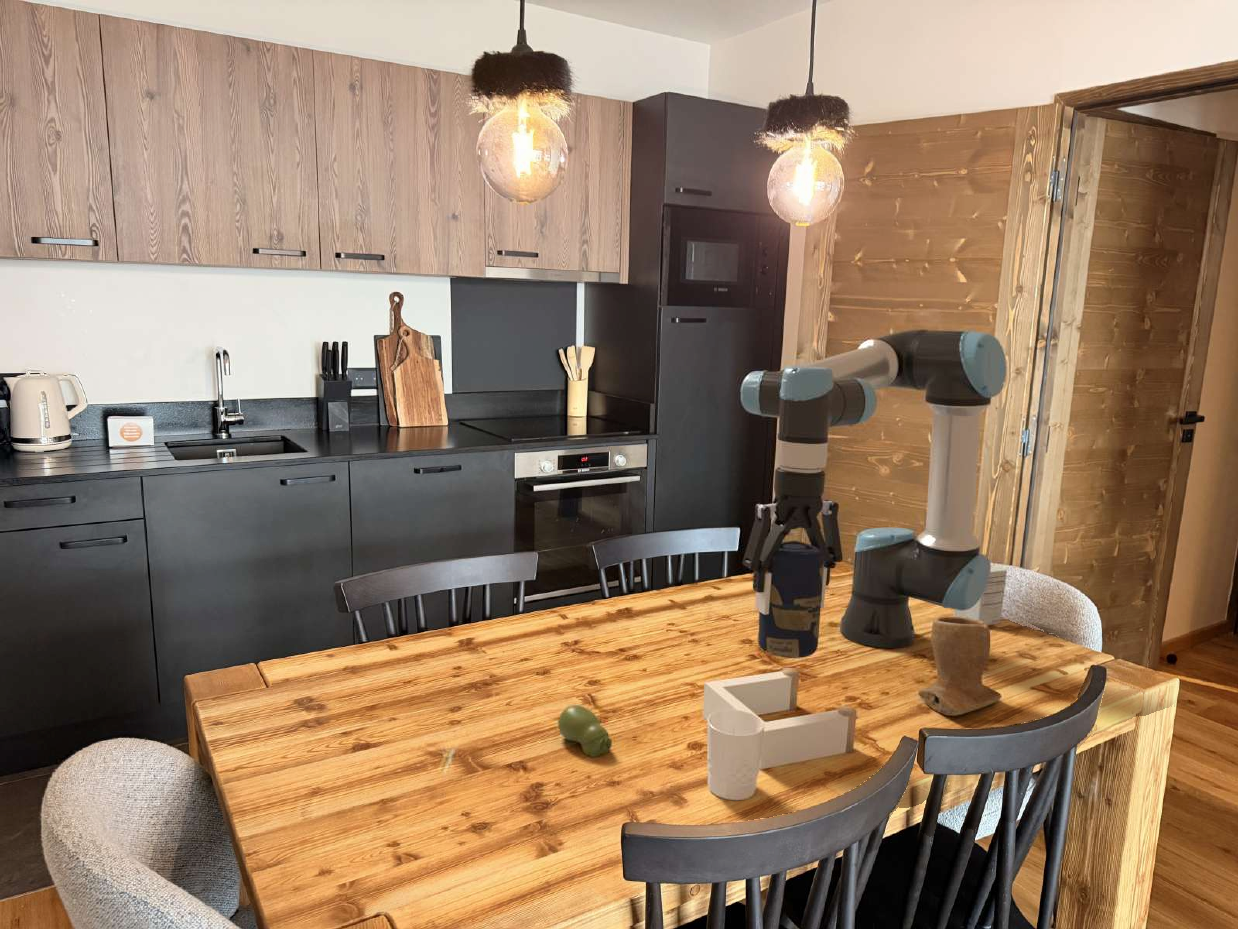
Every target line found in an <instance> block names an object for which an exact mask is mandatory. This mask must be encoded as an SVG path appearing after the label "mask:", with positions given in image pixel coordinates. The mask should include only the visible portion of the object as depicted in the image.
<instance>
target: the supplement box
mask: <svg viewBox="0 0 1238 929" xmlns="http://www.w3.org/2000/svg"><path fill="white" fill-rule="evenodd" d="M990 565H991V564H990ZM1007 573H1008V569H1007V570H1006V569H1003V568H1001V567H997V566H994V565H991V569H990V576H989V580H988V583H987V586H986V588H985V590H984V592H983V594H982V596H981V598H980V599H979V601H978V602H977V603H976V604H975V605H974V606H973V607H972V608H970V609H968V610H965V611H960V610H956V609H953V617H963V618H970V619H974V620H980V621H983V622H985V623H986V624H987V625H988V626H992V625H997V624H1000V623H1001V621H1002V620H1001V619H1002V612H1003V604H1004V597H1005V588H1006V580H1007Z"/></svg>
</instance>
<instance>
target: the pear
mask: <svg viewBox="0 0 1238 929" xmlns="http://www.w3.org/2000/svg"><path fill="white" fill-rule="evenodd" d="M557 723H558V730H559V732H560V734H561V736H563V738H564V739H566V740H568V741H571V742H575V743H576V742H577V743H578V744H580V745H581V748H582V751H583V753H584V754H585V755H587V756H589V757H591V758H594V757H597V756H599V757H600V756H601V755H605V754H606V753H609V752H610V749H611V747H612V742H613V741H612V738H610V737H609V732H608V730H607V729H606V728H605V727H604V726H602V725H601V723H600V720H599V718H598V717H597V716H596V715H595V714H594V713H593V711H591V710H590V709H588V708H586V707H585V706H582V705H578V704H577V705H575V704H574V705H573V704H572V705H570V706H567V707H566V708H565V709H563V711H562V712H561V713H560V715H559V717H558V721H557Z"/></svg>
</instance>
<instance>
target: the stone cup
mask: <svg viewBox="0 0 1238 929" xmlns="http://www.w3.org/2000/svg"><path fill="white" fill-rule="evenodd" d="M930 642H931V646H932V647H931V648H932V652H933V656H934V659H935V660H934V662H935V667H936V673H937V675H936V681H935V682H934V683H933V684H930V685H929V686H927V687H925V688H923V689H920V690H918V692H917V694H918V695H919V697H920V698H921V699H922V700H923V702H924V703H925V704H926V705H928V706H929V707H930V708H931V709H932V710H934V711H935V712H937V713H939V714H942V715H945V716H953V717H955V716H960V715H964V714H967V713H970V712H973V711H976V710H979V709H982V708H985V707H988V706H990V705H992V704H994V703H996V702H999V701H1000V700H1001V698H1002V695H1001V693H999V692H998V691H996V690H994V689H993V688H990V687H988V686H986V685H984V684H983V680H982V679H983V674H984V671H985V668H986V665H987V662H988V660H989V657H990V651H991V630H990V627H989V625H987V624H986V623H985V622H983V621H980V620H974V619H970V618H963V617H954V616H940V617H936V618H935V619H934V620H933V622H932V625H931V634H930Z"/></svg>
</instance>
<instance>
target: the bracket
mask: <svg viewBox="0 0 1238 929" xmlns="http://www.w3.org/2000/svg"><path fill="white" fill-rule="evenodd" d="M799 678H800V670H798V669H796V668H793V667H785V668H783V669H782V670H780V671H773V672H767V673H760V674H759V673H758V674H754V675H746V676H739V677H734V678H733V677H732V678H726V679H725V678H724V679H718V680H712V681H707V682H704V686H703V699H702V700H703V701H702V702H703V703H702V704H703V706H702V717H703V718H704V719H705V720H706V721H707V722H708V717H709V716H710V715H711V714H712V713H714V712H717V711H720V710H741V711H746V712H749V713H752V714H754V715H756V716H758V717H759V716H760V715H766V714H771V713H778V712H784V711H785V712H786V711H794V710H796V709H797V705H798V692H799V680H800V679H799ZM759 718H760V719H761V720H762V721H763V722H764V733H763V742H762V751H761V758H760V764H759V770H764V769H769V768H774V767H779V766H785V765H791V764H795V763H796V764H797V763H800V762H805V761H810V760H811V761H812V760H816V759H821V758H826V757H832V756H836V755H842V754H849V753H850V754H851V753H852V752H853V751H854V744H855V743H854V742H855V732H856V725H857V724H856V722H857V709H856V708H854V707H852V706H848V705H841V706H838V708H837V709H834V710H828V711H824V712H823V711H822V712H817V713H810V714H804V715H800V716H793V717H787V718H782V719H776V720H771V721H765V720H763V719H762V718H761V717H759Z"/></svg>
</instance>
